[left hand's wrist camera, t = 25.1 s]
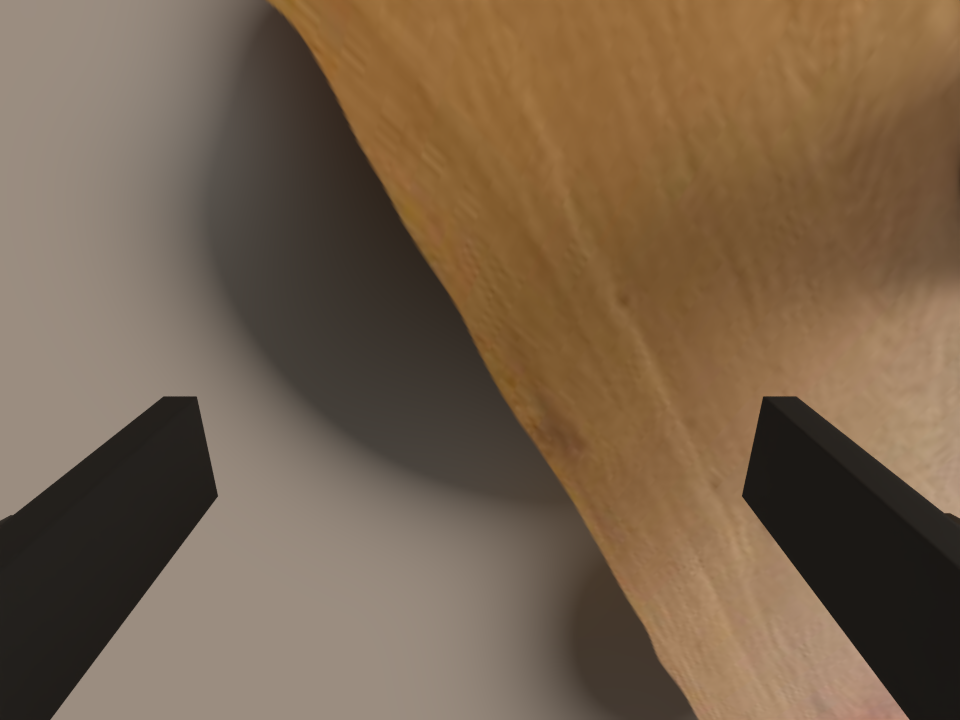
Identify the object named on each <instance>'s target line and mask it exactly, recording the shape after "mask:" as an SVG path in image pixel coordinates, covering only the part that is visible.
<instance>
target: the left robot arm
mask: <svg viewBox="0 0 960 720" xmlns="http://www.w3.org/2000/svg"><path fill="white" fill-rule="evenodd" d="M217 497H218V494H217V489H216V485H215V480H214V475H213V471H212V466H211V461H210V457H209V452H208V447H207V442H206V438H205V433H204V428H203V424H202V419H201V414H200V410H199V405H198V400H197V397H162V398H161V399H160V400H159V401H157V402H156V403H155V404H154V405H152V406H151V407H150V408H149V409H147V410H146V411H145V412H143V413H142V414H141V415H140V416H138V417H137V418H136V419H135V420H133V421H132V422H131V423H130V424H128V425H127V426H126V427H125V428H123V429H122V430H121V431H119V432H118V433H117V434H116V435H114V436H113V437H112V438H111V439H109V440H108V441H107V442H106V443H104V444H103V445H102V446H100V447H99V448H98V449H97V450H95V451H94V452H93V453H92V454H90V455H89V456H88V457H87V458H85V459H84V460H83V461H81V462H80V463H79V464H78V465H76V466H75V467H74V468H73V469H71V470H70V471H69V472H67V473H66V474H65V475H64V476H62V477H61V478H60V479H59V480H57V481H56V482H55V483H54V484H52V485H51V486H50V487H49V488H47V489H46V490H45V491H43V492H42V493H41V494H40V495H38V496H37V497H36V498H35V499H33V500H32V501H31V502H29V503H28V504H27V505H26V506H24V507H23V508H22V509H21V510H19V511H18V512H17V513H16V514H14V515H10V516H8V517H6V518H5V519H3V520H1V521H0V720H50V719H51V718H52V717H53V715H54V714H55V713H56V711H57V710H58V709H59V707H60V706H61V705H62V703H63V702H64V701H65V699H66V698H67V697H68V695H69V694H70V693H71V691H72V690H73V689H74V687H75V686H76V685H77V683H78V682H79V681H80V679H81V678H82V677H83V675H84V674H85V673H86V671H87V670H88V669H89V667H90V666H91V665H92V663H93V662H94V661H95V659H96V658H97V657H98V655H99V654H100V653H101V651H102V650H103V649H104V647H105V646H106V645H107V643H108V642H109V641H110V639H111V638H112V637H113V635H114V634H115V633H116V631H117V630H118V629H119V627H120V626H121V625H122V623H123V622H124V621H125V619H126V618H127V617H128V615H129V614H130V613H131V611H132V610H133V609H134V607H135V606H136V605H137V603H138V602H139V601H140V599H141V598H142V597H143V595H144V594H145V593H146V591H147V590H148V589H149V587H150V586H151V585H152V583H153V582H154V581H155V579H156V578H157V577H158V575H159V574H160V573H161V571H162V570H163V569H164V567H165V566H166V565H167V563H168V562H169V561H170V559H171V558H172V557H173V555H174V554H175V553H176V551H177V550H178V549H179V547H180V546H181V545H182V543H183V542H184V541H185V539H186V538H187V537H188V535H189V534H190V533H191V531H192V530H193V529H194V527H195V526H196V525H197V523H198V522H199V521H200V519H201V518H202V517H203V515H204V514H205V513H206V511H207V510H208V509H209V507H210V506H211V505H212V503H213V502H214V501H215V499H216V498H217ZM742 497H743V498H744V499H745V501H746V502H747V503H748V505H749V506H750V507H751V509H752V510H753V511H754V513H755V514H756V515H757V517H758V518H759V519H760V521H761V522H762V523H763V525H764V526H765V527H766V529H767V530H768V531H769V533H770V534H771V535H772V537H773V538H774V539H775V541H776V542H777V543H778V545H779V546H780V547H781V549H782V550H783V551H784V553H785V554H786V555H787V557H788V558H789V559H790V561H791V562H792V563H793V565H794V566H795V567H796V569H797V570H798V571H799V573H800V574H801V575H802V577H803V578H804V579H805V581H806V582H807V583H808V585H809V586H810V587H811V589H812V590H813V591H814V593H815V594H816V595H817V597H818V598H819V599H820V601H821V602H822V603H823V605H824V606H825V607H826V609H827V610H828V611H829V613H830V614H831V615H832V617H833V618H834V619H835V621H836V622H837V623H838V625H839V626H840V627H841V629H842V630H843V631H844V633H845V634H846V635H847V637H848V638H849V639H850V641H851V642H852V643H853V645H854V646H855V647H856V649H857V650H858V651H859V653H860V654H861V655H862V657H863V658H864V659H865V661H866V662H867V663H868V665H869V666H870V667H871V669H872V670H873V671H874V673H875V674H876V675H877V677H878V678H879V679H880V681H881V682H882V683H883V685H884V686H885V687H886V689H887V690H888V691H889V693H890V694H891V695H892V697H893V698H894V699H895V701H896V702H897V703H898V705H899V706H900V707H901V709H902V710H903V711H904V713H905V714H906V715H907V717H908V718H909V719H910V720H960V518H958V517H956V516H954V515H952V514H950V513H943V512H942V511H941V510H939V509H938V508H937V507H936V506H934V505H933V504H932V503H931V502H929V501H928V500H927V499H925V498H924V497H923V496H922V495H920V494H919V493H918V492H917V491H915V490H914V489H913V488H912V487H910V486H909V485H908V484H906V483H905V482H904V481H903V480H901V479H900V478H899V477H898V476H896V475H895V474H894V473H893V472H891V471H890V470H889V469H887V468H886V467H885V466H884V465H882V464H881V463H880V462H879V461H877V460H876V459H875V458H874V457H872V456H871V455H870V454H868V453H867V452H866V451H865V450H863V449H862V448H861V447H860V446H858V445H857V444H856V443H855V442H853V441H852V440H851V439H849V438H848V437H847V436H846V435H844V434H843V433H842V432H841V431H839V430H838V429H837V428H836V427H834V426H833V425H832V424H830V423H829V422H828V421H827V420H825V419H824V418H823V417H822V416H820V415H819V414H818V413H817V412H815V411H814V410H813V409H811V408H810V407H809V406H808V405H806V404H805V403H804V402H803V401H801V400H800V399H799V398H798V397H763V400H762V405H761V409H760V414H759V419H758V424H757V428H756V433H755V438H754V442H753V447H752V452H751V456H750V461H749V466H748V470H747V475H746V480H745V485H744V489H743V494H742Z"/></svg>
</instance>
